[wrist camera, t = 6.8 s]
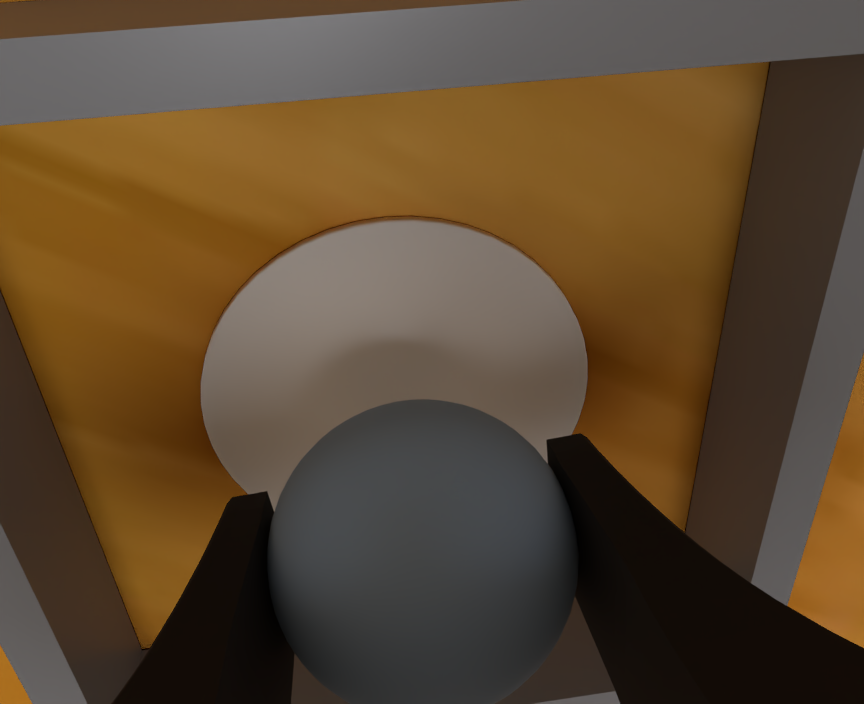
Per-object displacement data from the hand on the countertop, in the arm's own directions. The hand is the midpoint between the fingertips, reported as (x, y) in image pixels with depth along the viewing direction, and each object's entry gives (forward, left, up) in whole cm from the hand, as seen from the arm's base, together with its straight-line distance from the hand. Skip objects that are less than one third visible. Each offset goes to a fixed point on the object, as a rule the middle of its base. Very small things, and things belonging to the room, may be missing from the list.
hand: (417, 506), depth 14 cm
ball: (0, 0, +1) cm, 1 cm away
